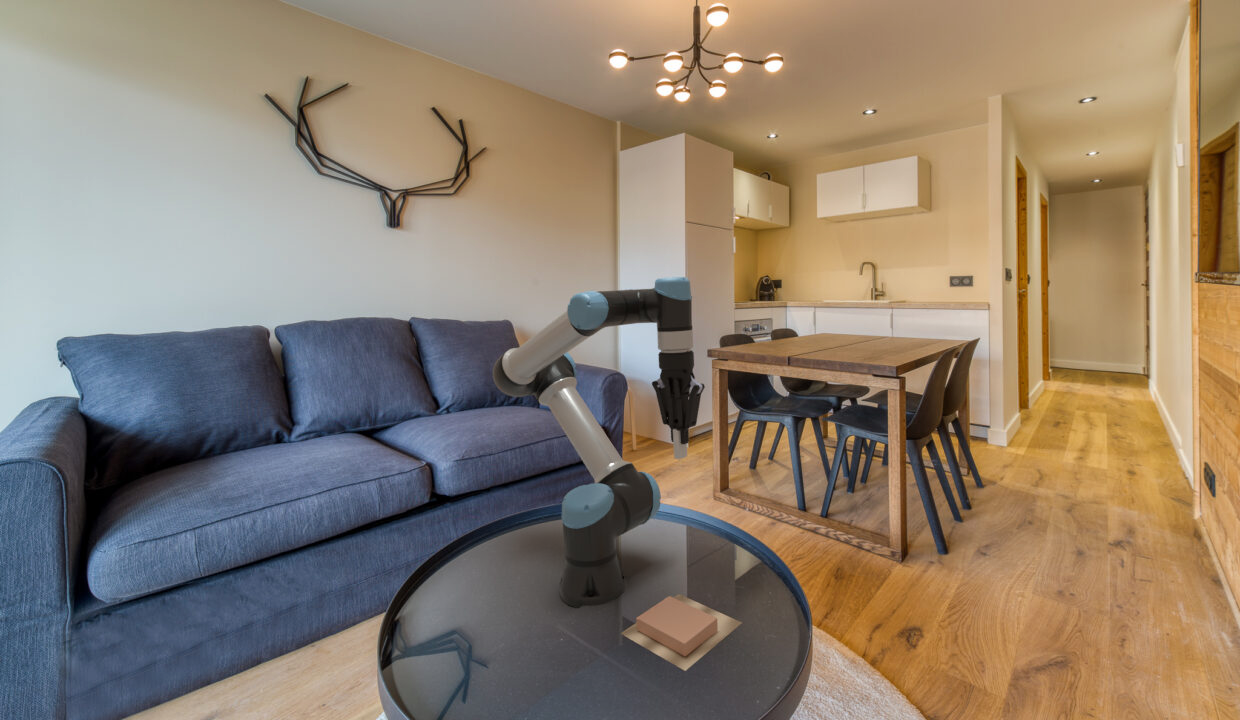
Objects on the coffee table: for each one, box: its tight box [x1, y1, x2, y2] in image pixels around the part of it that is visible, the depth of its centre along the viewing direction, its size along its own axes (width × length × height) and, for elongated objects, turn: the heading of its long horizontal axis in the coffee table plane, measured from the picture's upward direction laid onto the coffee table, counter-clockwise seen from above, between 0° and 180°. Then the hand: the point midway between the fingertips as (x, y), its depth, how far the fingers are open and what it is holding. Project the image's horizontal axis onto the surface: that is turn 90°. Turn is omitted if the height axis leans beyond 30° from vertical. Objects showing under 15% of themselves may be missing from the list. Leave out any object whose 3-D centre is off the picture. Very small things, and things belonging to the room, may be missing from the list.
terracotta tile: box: [635, 595, 718, 657], centre depth 104 cm, size 12×3×10 cm
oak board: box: [620, 594, 743, 672], centre depth 105 cm, size 16×18×1 cm
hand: (680, 457), depth 117 cm, fingers closed
